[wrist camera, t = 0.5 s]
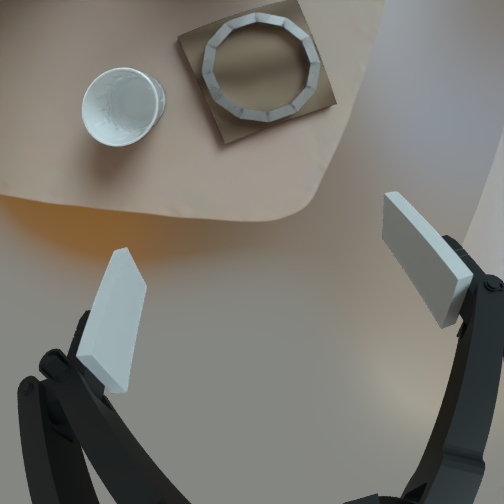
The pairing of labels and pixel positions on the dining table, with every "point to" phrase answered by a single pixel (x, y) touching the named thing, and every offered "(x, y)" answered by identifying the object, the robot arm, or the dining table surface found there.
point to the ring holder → (258, 68)
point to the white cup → (122, 106)
